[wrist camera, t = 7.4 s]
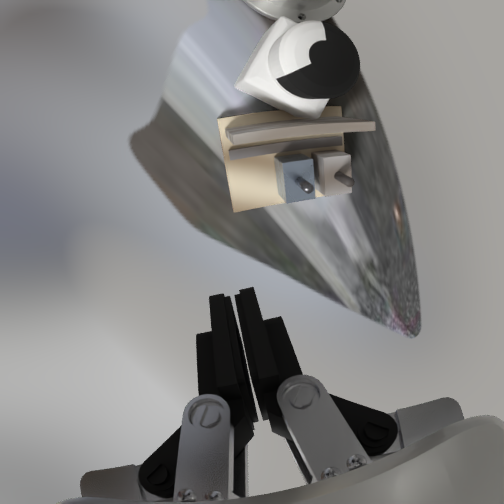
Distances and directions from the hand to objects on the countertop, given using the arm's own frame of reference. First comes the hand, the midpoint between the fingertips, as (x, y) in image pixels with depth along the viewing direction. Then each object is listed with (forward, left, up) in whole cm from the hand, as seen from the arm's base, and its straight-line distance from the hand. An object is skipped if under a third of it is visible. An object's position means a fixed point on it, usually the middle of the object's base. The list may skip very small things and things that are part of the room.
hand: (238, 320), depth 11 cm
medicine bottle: (-10, +9, -22) cm, 26 cm away
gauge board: (-1, +8, -21) cm, 23 cm away
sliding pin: (0, +8, -20) cm, 21 cm away
